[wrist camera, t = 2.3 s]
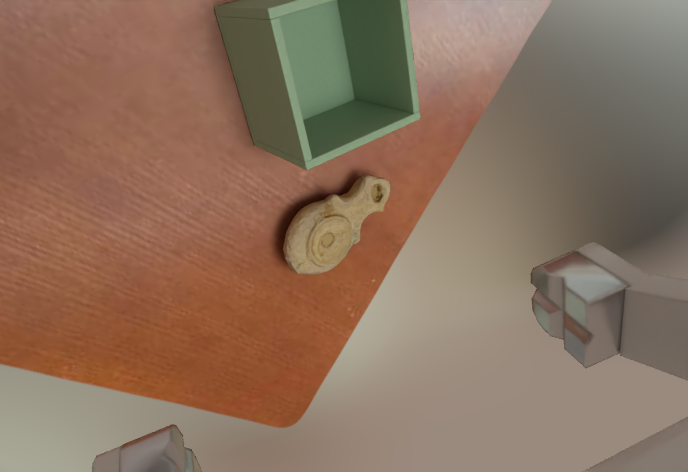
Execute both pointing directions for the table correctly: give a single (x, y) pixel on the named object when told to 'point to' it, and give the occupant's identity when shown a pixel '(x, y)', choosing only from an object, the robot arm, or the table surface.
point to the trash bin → (320, 73)
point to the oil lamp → (332, 226)
